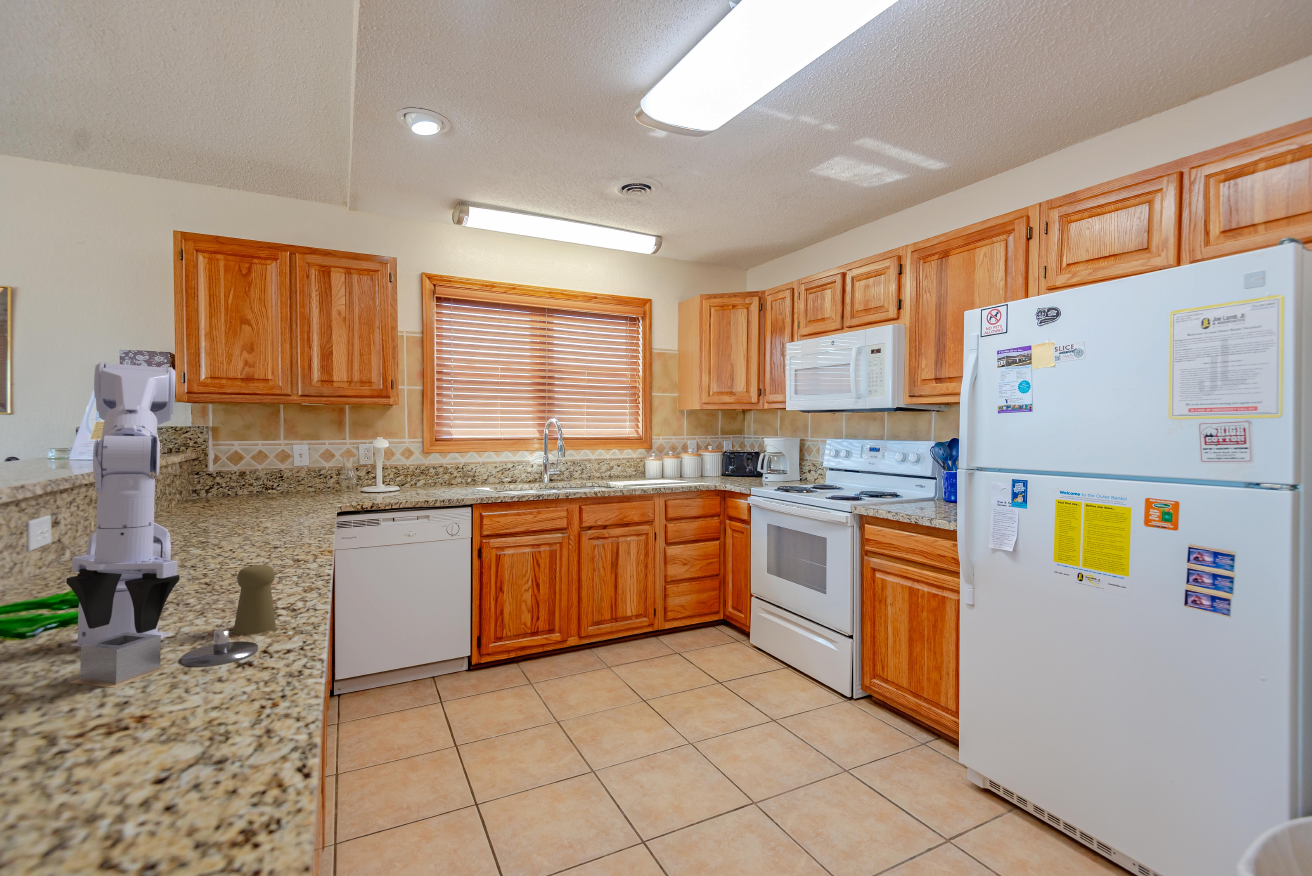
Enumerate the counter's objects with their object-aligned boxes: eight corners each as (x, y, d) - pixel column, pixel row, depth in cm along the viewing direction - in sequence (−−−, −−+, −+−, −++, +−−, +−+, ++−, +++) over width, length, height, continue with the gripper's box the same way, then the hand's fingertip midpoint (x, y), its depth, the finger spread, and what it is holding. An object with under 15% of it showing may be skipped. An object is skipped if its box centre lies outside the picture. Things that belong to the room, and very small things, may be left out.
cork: (254, 640, 94) (256, 571, 95) (222, 636, 96) (224, 568, 96) (285, 628, 100) (287, 563, 100) (255, 625, 102) (256, 561, 102)
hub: (164, 667, 83) (165, 638, 83) (222, 645, 92) (222, 619, 92) (219, 673, 81) (220, 644, 81) (272, 650, 90) (273, 624, 90)
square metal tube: (80, 680, 76) (81, 645, 76) (125, 664, 82) (126, 632, 82) (115, 684, 75) (116, 649, 75) (160, 668, 81) (161, 635, 81)
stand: (69, 686, 76) (70, 658, 76) (127, 666, 83) (127, 640, 83) (114, 692, 74) (115, 663, 74) (169, 671, 81) (169, 645, 81)
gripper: (45, 527, 76) (42, 633, 76) (139, 532, 73) (136, 642, 73) (105, 520, 83) (102, 617, 83) (193, 525, 80) (190, 625, 80)
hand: (122, 628), depth 78 cm, fingers open, 7 cm apart
